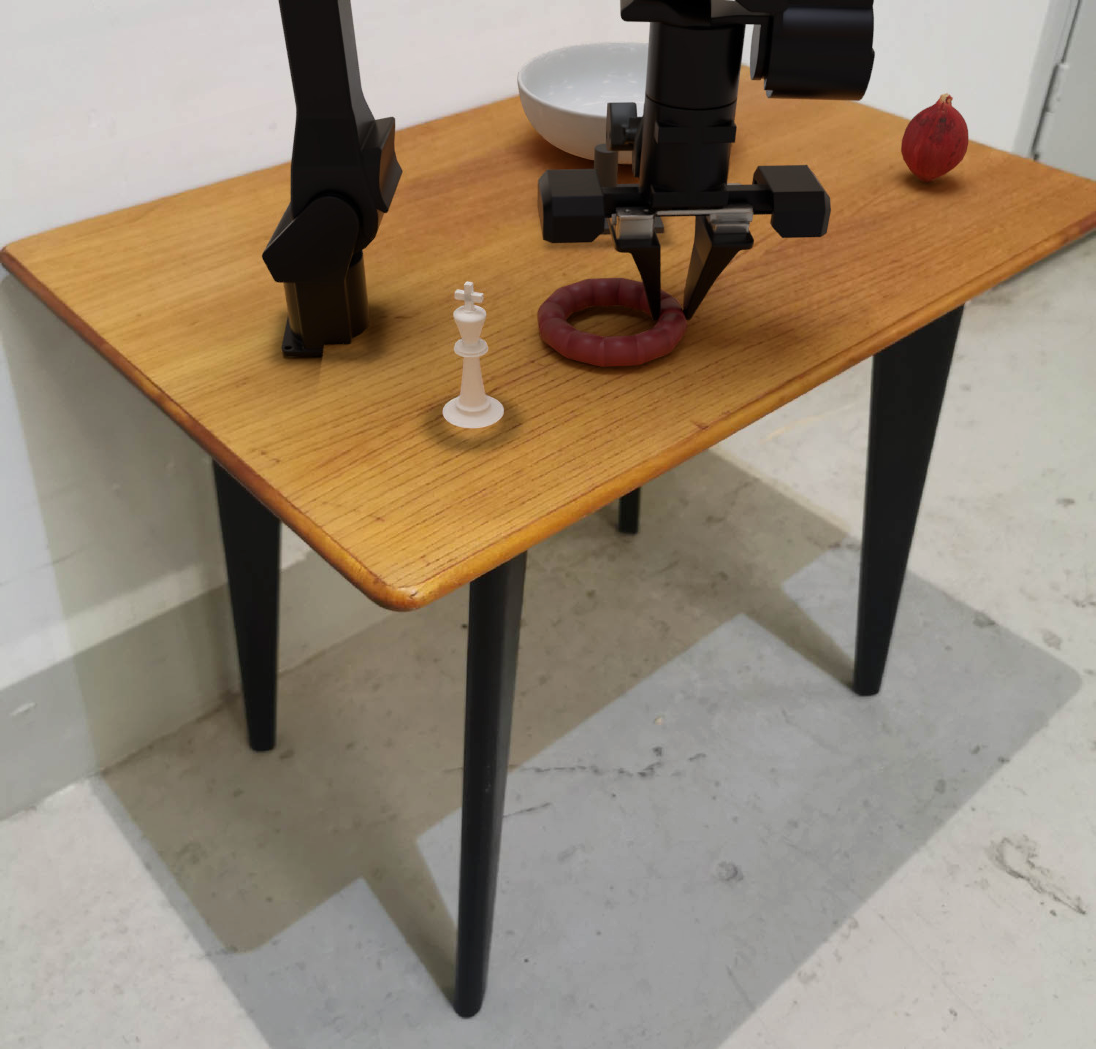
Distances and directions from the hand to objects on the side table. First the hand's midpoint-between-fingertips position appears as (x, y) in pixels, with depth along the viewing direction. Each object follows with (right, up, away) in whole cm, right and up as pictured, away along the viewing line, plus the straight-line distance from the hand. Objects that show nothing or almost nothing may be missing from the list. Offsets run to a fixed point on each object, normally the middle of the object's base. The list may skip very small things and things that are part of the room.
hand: (670, 317), depth 80 cm
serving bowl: (-1, +22, +31) cm, 38 cm away
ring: (-4, 0, 0) cm, 4 cm away
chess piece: (-14, -8, -6) cm, 17 cm away
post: (-4, +12, +17) cm, 21 cm away
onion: (+26, +17, +25) cm, 40 cm away
